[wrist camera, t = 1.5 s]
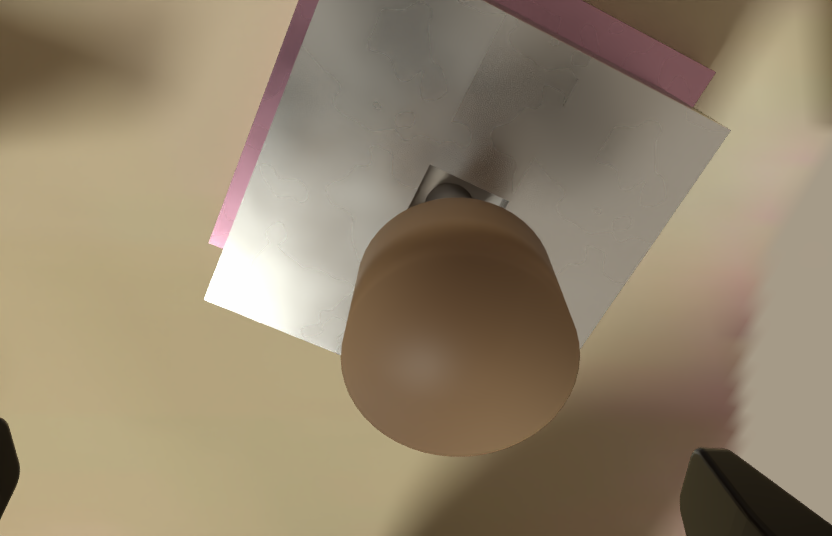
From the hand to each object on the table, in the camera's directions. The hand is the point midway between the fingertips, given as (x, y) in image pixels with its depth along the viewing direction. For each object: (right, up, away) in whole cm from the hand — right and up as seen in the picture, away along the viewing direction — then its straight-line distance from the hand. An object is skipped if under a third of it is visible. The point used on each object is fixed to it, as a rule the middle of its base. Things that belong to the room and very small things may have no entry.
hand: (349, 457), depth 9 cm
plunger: (+2, +4, +8) cm, 9 cm away
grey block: (+2, +6, +12) cm, 13 cm away
